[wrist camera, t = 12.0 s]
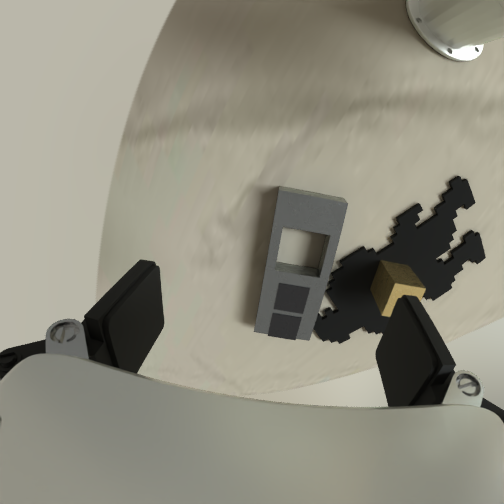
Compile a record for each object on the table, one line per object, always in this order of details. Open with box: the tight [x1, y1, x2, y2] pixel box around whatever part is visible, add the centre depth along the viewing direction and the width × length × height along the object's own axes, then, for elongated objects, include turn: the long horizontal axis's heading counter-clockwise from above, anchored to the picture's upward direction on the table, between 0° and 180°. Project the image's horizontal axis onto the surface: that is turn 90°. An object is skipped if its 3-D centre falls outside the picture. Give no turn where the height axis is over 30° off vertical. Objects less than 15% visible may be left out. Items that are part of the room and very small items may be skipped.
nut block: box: [370, 260, 426, 317], centre depth 33 cm, size 4×4×7 cm
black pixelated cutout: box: [313, 176, 486, 344], centre depth 36 cm, size 16×1×30 cm
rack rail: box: [254, 186, 348, 340], centre depth 36 cm, size 20×8×3 cm, turn 172°
